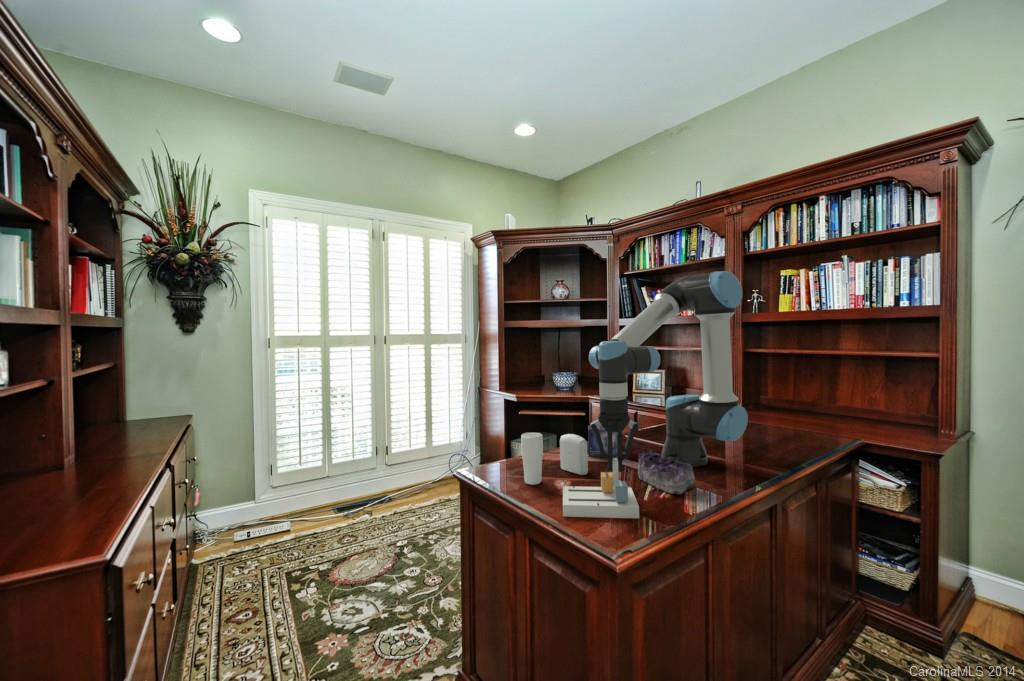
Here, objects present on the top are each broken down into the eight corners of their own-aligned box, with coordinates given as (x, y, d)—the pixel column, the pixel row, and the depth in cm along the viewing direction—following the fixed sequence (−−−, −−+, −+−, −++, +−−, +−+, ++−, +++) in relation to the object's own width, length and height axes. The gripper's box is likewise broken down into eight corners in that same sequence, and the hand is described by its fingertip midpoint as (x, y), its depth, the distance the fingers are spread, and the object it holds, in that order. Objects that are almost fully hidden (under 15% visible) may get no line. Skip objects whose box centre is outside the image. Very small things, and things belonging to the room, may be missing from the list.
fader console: (631, 497, 121) (631, 486, 120) (639, 518, 108) (639, 505, 108) (563, 496, 123) (562, 485, 123) (563, 516, 110) (562, 504, 110)
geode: (623, 478, 137) (625, 446, 137) (650, 476, 142) (651, 446, 143) (673, 497, 119) (675, 460, 119) (702, 494, 124) (704, 459, 125)
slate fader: (625, 495, 113) (625, 480, 113) (628, 502, 109) (627, 485, 109) (614, 495, 113) (613, 479, 113) (615, 501, 109) (615, 485, 109)
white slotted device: (558, 469, 147) (557, 433, 147) (567, 466, 150) (566, 431, 149) (581, 476, 139) (580, 438, 139) (590, 473, 142) (589, 436, 141)
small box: (588, 457, 159) (587, 429, 159) (588, 452, 166) (587, 425, 166) (617, 457, 158) (617, 429, 157) (616, 452, 164) (615, 425, 164)
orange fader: (611, 486, 120) (611, 471, 120) (613, 492, 116) (613, 476, 116) (601, 486, 120) (600, 471, 120) (602, 491, 116) (601, 476, 116)
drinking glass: (529, 487, 130) (527, 438, 130) (518, 481, 136) (517, 434, 136) (547, 483, 134) (546, 435, 133) (536, 477, 140) (535, 431, 139)
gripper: (635, 395, 120) (637, 478, 121) (588, 395, 122) (590, 478, 122) (640, 399, 113) (642, 488, 113) (590, 400, 114) (592, 488, 115)
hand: (615, 483), depth 118 cm, fingers closed
